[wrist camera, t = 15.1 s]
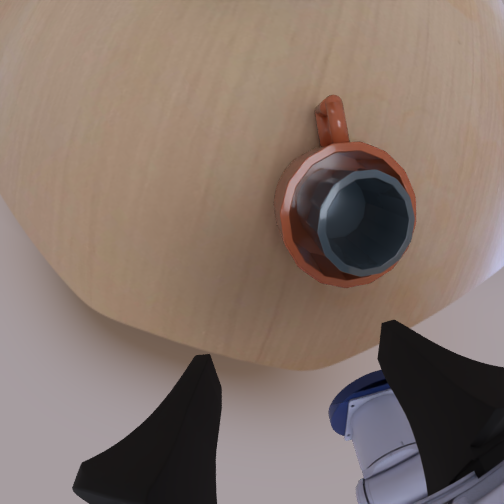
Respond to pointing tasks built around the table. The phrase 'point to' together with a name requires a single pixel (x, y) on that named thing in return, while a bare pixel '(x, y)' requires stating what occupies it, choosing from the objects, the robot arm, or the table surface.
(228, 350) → the table surface
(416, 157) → the table surface
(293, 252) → the mug
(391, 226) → the grey handleless cup
